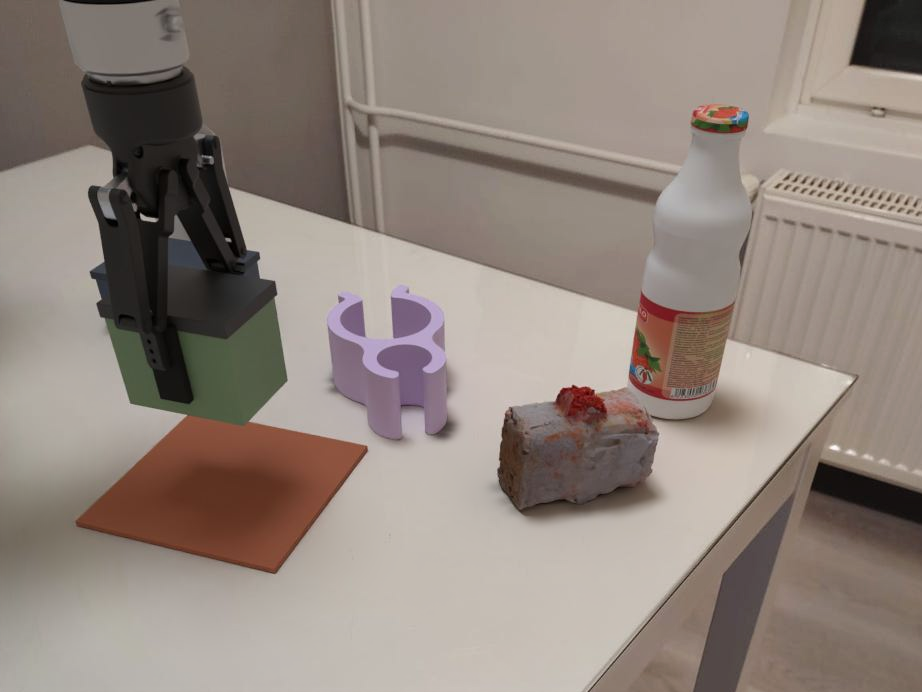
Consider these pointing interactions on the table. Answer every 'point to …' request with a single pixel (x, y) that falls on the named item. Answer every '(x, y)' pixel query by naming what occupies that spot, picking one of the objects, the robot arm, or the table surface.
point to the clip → (391, 361)
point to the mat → (226, 491)
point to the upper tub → (211, 345)
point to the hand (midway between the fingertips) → (205, 373)
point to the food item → (575, 446)
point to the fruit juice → (692, 271)
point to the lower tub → (179, 262)
